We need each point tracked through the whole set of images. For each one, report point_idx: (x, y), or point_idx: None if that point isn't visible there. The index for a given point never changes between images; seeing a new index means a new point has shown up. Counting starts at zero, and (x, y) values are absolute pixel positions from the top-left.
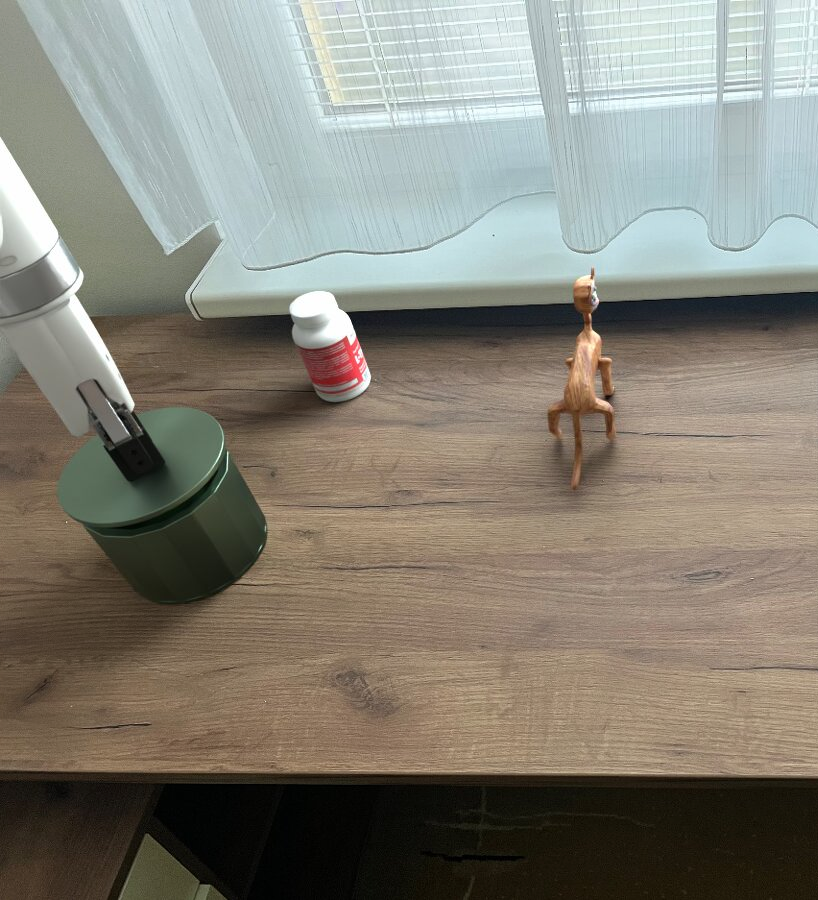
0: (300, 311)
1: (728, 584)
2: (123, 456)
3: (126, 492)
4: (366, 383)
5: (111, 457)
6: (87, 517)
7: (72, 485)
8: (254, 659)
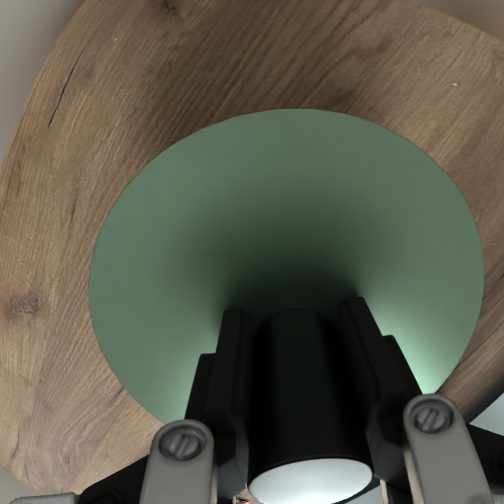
0: None
1: (60, 460)
2: (187, 404)
3: (189, 293)
4: None
5: (211, 378)
6: (146, 182)
7: (333, 160)
8: (72, 241)
